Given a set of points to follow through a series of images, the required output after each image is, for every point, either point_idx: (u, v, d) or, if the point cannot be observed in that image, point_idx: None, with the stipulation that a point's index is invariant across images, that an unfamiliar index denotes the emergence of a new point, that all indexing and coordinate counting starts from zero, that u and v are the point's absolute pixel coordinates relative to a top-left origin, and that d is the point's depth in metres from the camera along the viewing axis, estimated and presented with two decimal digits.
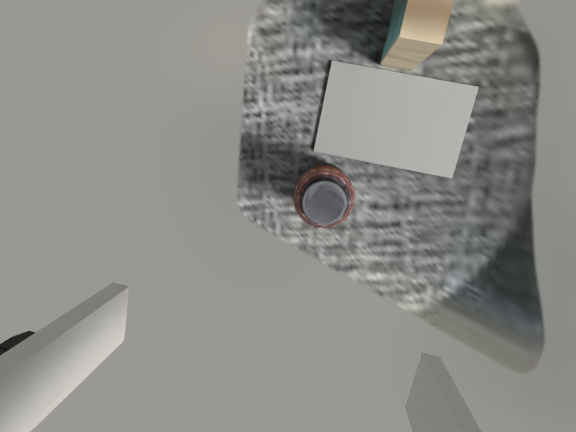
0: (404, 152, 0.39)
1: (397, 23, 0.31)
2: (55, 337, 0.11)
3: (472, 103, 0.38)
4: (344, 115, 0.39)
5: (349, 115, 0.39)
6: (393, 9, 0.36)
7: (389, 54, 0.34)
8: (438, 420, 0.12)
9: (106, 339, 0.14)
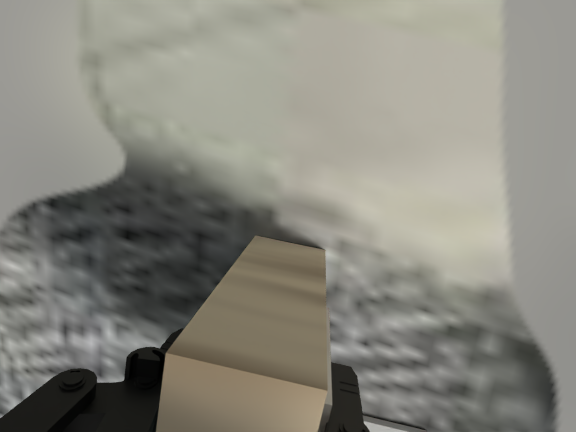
0: None
1: None
2: None
3: None
4: None
5: None
6: None
7: None
8: None
9: None
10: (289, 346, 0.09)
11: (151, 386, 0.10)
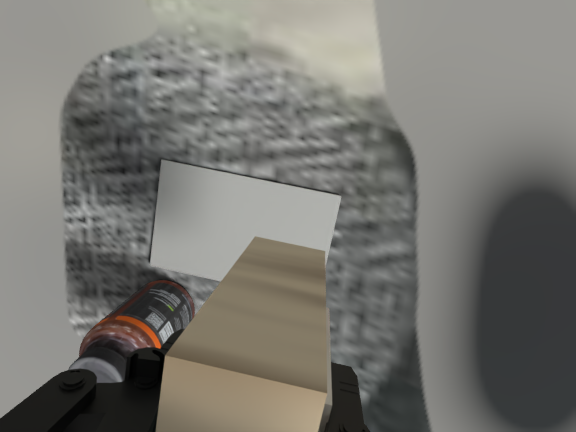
0: None
1: None
2: None
3: (335, 215, 0.30)
4: (182, 225, 0.32)
5: (188, 225, 0.31)
6: None
7: None
8: None
9: None
10: (289, 347, 0.08)
11: (151, 386, 0.10)
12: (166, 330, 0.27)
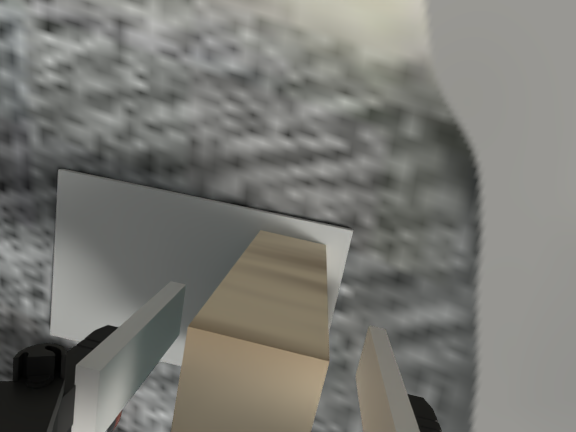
0: None
1: None
2: (137, 330, 0.12)
3: (342, 262, 0.18)
4: (97, 273, 0.20)
5: (106, 274, 0.20)
6: None
7: None
8: (373, 380, 0.13)
9: (168, 333, 0.15)
10: (295, 325, 0.10)
11: (47, 383, 0.09)
12: None
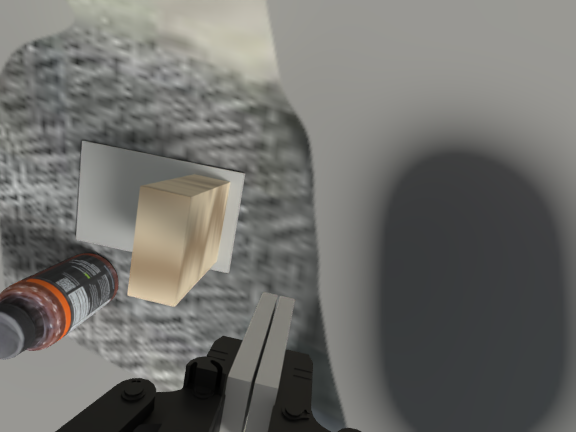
0: None
1: None
2: (260, 341, 0.13)
3: (239, 191, 0.33)
4: (103, 201, 0.34)
5: (109, 202, 0.34)
6: None
7: None
8: None
9: None
10: (184, 191, 0.24)
11: (208, 397, 0.10)
12: (78, 293, 0.30)
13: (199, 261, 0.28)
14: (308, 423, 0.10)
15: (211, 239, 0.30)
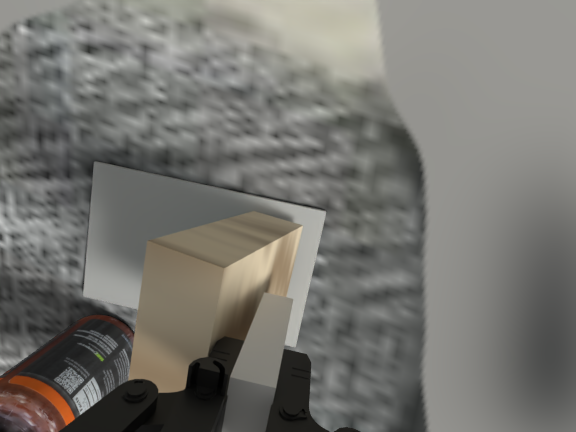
0: None
1: None
2: (262, 342, 0.13)
3: (318, 236, 0.23)
4: (122, 245, 0.24)
5: (130, 246, 0.24)
6: None
7: None
8: None
9: None
10: (220, 252, 0.14)
11: (210, 397, 0.10)
12: (87, 391, 0.20)
13: None
14: (306, 422, 0.10)
15: None
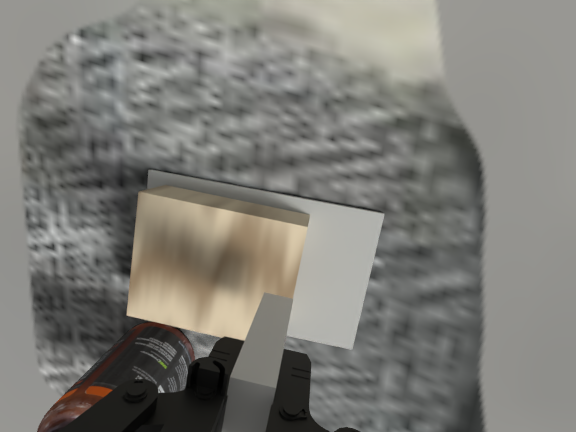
0: None
1: None
2: (262, 342, 0.13)
3: (376, 239, 0.23)
4: None
5: None
6: None
7: None
8: None
9: None
10: (166, 193, 0.21)
11: (210, 397, 0.10)
12: None
13: (197, 302, 0.21)
14: (306, 422, 0.10)
15: (238, 292, 0.21)
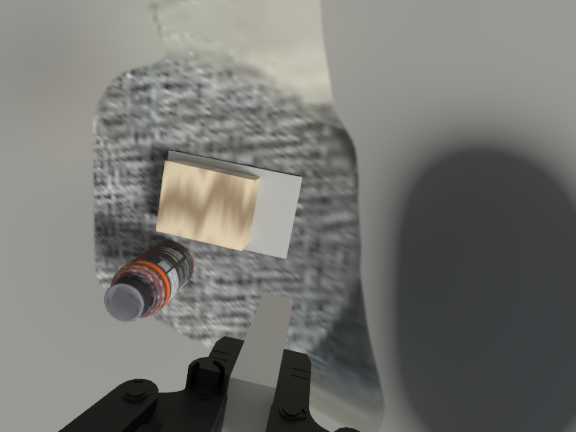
0: None
1: None
2: (262, 342, 0.13)
3: (298, 192, 0.40)
4: None
5: None
6: None
7: None
8: None
9: None
10: (179, 162, 0.38)
11: (210, 397, 0.10)
12: (172, 273, 0.38)
13: (195, 223, 0.39)
14: (306, 422, 0.10)
15: (218, 217, 0.38)
